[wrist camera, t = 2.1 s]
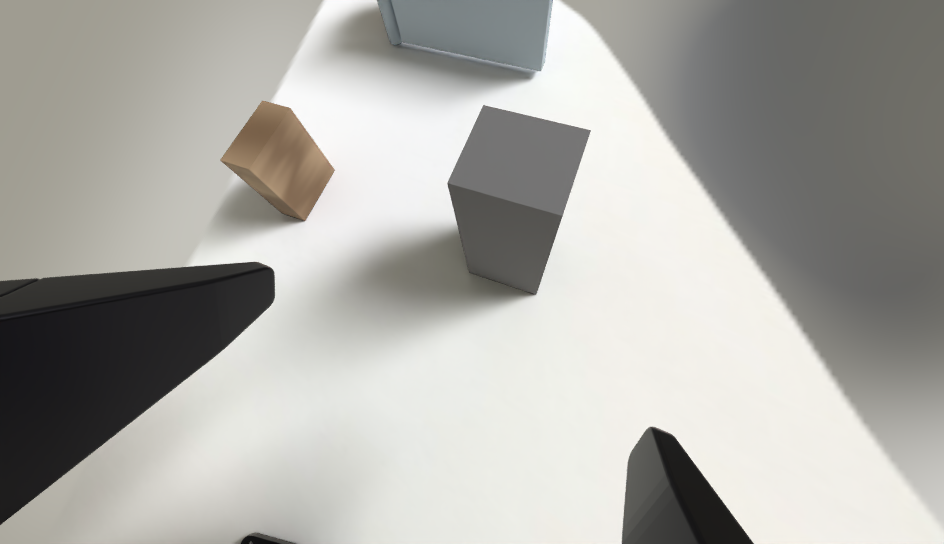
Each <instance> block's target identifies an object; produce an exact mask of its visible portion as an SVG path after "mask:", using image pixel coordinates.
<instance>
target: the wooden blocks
mask: <svg viewBox="0 0 944 544" xmlns="http://www.w3.org/2000/svg"><path fill="white" fill-rule="evenodd" d="M221 161H222V162H223V163H224V164H225V165H226V166H228V167H229V168H230V169H231V170H232V171H233V172H234V173H236V174H237V175H238V176H239V177H240V178H241V179H243V180H244V181H245V182H246V183H247V184H248V185H250V186H251V187H252V188H253V189H254V190H255V191H257V192H258V193H259V194H260V195H261V196H262V197H264V198H265V199H266V200H267V201H268V202H269V203H271V204H272V205H273V206H274V207H275V208H276V209H278V210H279V211H280V212H281V213H283V214H286V215H289V216H292V217H295V218H298V219H301V220H304V221H305V220H306V219H307V217H308V215H309V214H310V212H311V210H312V208H313V207H314V205H315V203H316V202H317V200H318V198H319V196H320V195H321V193H322V191H323V190H324V188H325V186H326V184H327V183H328V181H329V179H330V178H331V176H332V174H333V172H334V171H335V170H334V168H333V167H332V166H331V164H330V163H329V161H328V160H327V159H326V157H325V156H324V154H323V153H322V152H321V150H320V149H319V147H318V146H317V145H316V143H315V142H314V140H313V139H312V138H311V136H310V135H309V133H308V132H307V131H306V129H305V128H304V127H303V125H302V124H301V122H300V121H299V120H298V118H297V117H296V115H295V114H294V113H293V111H292V110H291V108H288V107H284V106H281V105H277V104H273V103H269V102H266V101H262V102H261V103H260V105H259V106H258V108H257V109H256V111H255V112H254V113H253V115H252V116H251V117H250V119H249V120H248V122H247V123H246V125H245V126H244V127H243V129H242V130H241V132H240V133H239V134H238V136H237V137H236V138H235V140H234V142H233V143H232V144H231V146H230V147H229V148H228V150H227V151H226V153H225V154H224V155H223V157H222V158H221Z"/></svg>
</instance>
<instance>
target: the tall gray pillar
mask: <svg viewBox="0 0 944 544" xmlns="http://www.w3.org/2000/svg"><path fill="white" fill-rule="evenodd" d="M590 131H591V130H587V129H582V128H578V127H574V126H570V125H565V124H561V123H557V122H553V121H548V120H544V119H540V118H536V117H531V116H527V115H523V114H519V113H514V112H510V111H506V110H502V109H498V108H493V107H489V106H485V105H483V107H482V109H481V111H480V114H479V116H478V118H477V120H476V122H475V124H474V127H473V129H472V131H471V133H470V135H469V137H468V140H467V142H466V144H465V146H464V148H463V150H462V153H461V155H460V157H459V159H458V161H457V163H456V166H455V168H454V170H453V172H452V174H451V176H450V179H449V181H448V188H449V192H450V196H451V200H452V204H453V208H454V212H455V216H456V221H457V225H458V229H459V233H460V237H461V241H462V245H463V249H464V254H465V258H466V262H467V266H468V270H469V272H470V273H473V274H476V275H479V276H482V277H485V278H488V279H491V280H494V281H497V282H500V283H503V284H506V285H509V286H512V287H515V288H518V289H521V290H524V291H527V292H530V293H533V294H537V291H538V288H539V285H540V282H541V279H542V276H543V273H544V270H545V267H546V264H547V261H548V258H549V255H550V252H551V249H552V246H553V243H554V240H555V237H556V234H557V231H558V228H559V225H560V222H561V219H562V216H563V213H564V210H565V207H566V204H567V201H568V198H569V195H570V192H571V189H572V186H573V182H574V179H575V176H576V173H577V170H578V167H579V164H580V161H581V158H582V155H583V152H584V149H585V146H586V143H587V140H588V137H589V134H590Z"/></svg>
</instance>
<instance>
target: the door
mask: <svg viewBox="0 0 944 544" xmlns="http://www.w3.org/2000/svg"><path fill="white" fill-rule="evenodd" d="M377 2H378V5H379V8H380V11H381V15H382V18H383V21H384V24H385V27H386V31H387V34H388V37H389V40H390V43H391V44H393V45H397V44H400V43H402V42H403V43H408V44H413V45H418V46H422V47H427V48H432V49H437V50H441V51H446V52H451V53H456V54H460V55H465V56H470V57H475V58H479V59H484V60H489V61H494V62H498V63H503V64H508V65H513V66H518V67H522V68H527V69H532V70H537V71H541V70H542V68H543V65H544V63H545V56H546V49H547V41H548V33H549V26H550V18H551V10H552V3H553V0H377Z"/></svg>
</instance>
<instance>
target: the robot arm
mask: <svg viewBox="0 0 944 544" xmlns="http://www.w3.org/2000/svg"><path fill="white" fill-rule="evenodd" d="M274 298H275V277H274V271H273V269H272V268H271V267H269V266H266V265H264V264H262V263H259V262H247V263H233V264H220V265H207V266H194V267H181V268H168V269H155V270H141V271H128V272H116V273H103V274H89V275H75V276H62V277H50V278H42V279H37V278H36V279H22V280H9V281H0V525H1V524H2V523H3V522H5V521H6V520H7V519H8V518H10V517H11V516H12V515H14V514H15V513H16V512H17V511H19V510H20V509H21V508H22V507H24V506H25V505H26V504H28V502H30V501H31V500H33V499H34V498H35V497H36V496H38V495H39V494H40V493H42V492H43V491H44V490H45V489H47V488H48V487H49V486H51V485H52V484H53V483H54V482H56V481H57V480H58V479H59V478H61V477H62V476H63V475H65V474H66V473H67V472H68V471H70V470H71V469H72V468H73V467H75V466H76V465H77V464H78V463H80V462H81V461H82V460H84V459H85V458H86V457H88V456H89V455H90V454H91V453H93V452H94V451H95V450H96V449H98V448H99V447H100V446H102V445H103V444H104V443H105V442H107V441H108V440H109V439H110V438H112V437H113V436H114V435H116V434H117V433H118V432H119V431H121V430H122V429H123V428H125V427H126V426H127V425H128V424H130V423H131V422H132V421H133V420H135V419H136V418H137V417H139V416H140V415H141V414H142V413H144V412H145V411H146V410H147V409H149V408H150V407H151V406H153V405H154V404H155V403H156V402H158V401H159V400H160V399H162V398H163V397H164V396H165V395H167V394H168V393H169V392H170V391H172V390H173V389H174V388H176V387H177V386H178V385H179V384H181V383H182V382H183V381H184V380H186V379H187V378H188V377H190V376H191V375H192V374H193V373H195V372H196V371H197V370H199V369H200V368H201V367H202V366H204V365H205V364H206V363H207V362H209V361H210V360H211V359H213V358H214V357H215V356H216V355H217V354H219V353H220V352H221V351H222V350H224V349H225V348H226V347H227V346H228V345H229V344H230V343H231V342H232V341H233V340H235V339H236V338H237V337H238V336H239V335H240V334H241V333H242V332H243V331H244V330H245V329H246V328H247V327H248V326H249V325H251V324H252V323H253V322H254V321H255V320H256V319H257V318H258V317H259V316H260V315H261V314H262V313H263V312H264V311H265V310H267V309H268V308H269V307H270V306H271V304H272V303H273V301H274ZM250 541H251V542H253V544H295V543H292V542H288V541H285V540H281V539H277V538H274V537H270V536H267V535H263V534H260V533H253V534H251V535H249V536H247V537H245V538H244V539H243V540H242V542H241V544H249V543H250ZM622 544H754V543H753V542H752V541H751V539H750V538H749V537H748V535H747V534H746V533H745V531H744V530H743V528H742V527H741V526H740V524H739V523H738V522H737V520H736V519H735V518H734V516H733V515H732V514H731V512H730V511H729V510H728V508H727V507H726V506H725V504H724V503H723V501H722V500H721V499H720V497H719V496H718V495H717V493H716V492H715V491H714V489H713V488H712V487H711V485H710V484H709V483H708V481H707V480H706V479H705V477H704V476H703V474H702V473H701V472H700V470H699V469H698V468H697V466H696V465H695V464H694V462H693V461H692V460H691V458H690V457H689V456H688V454H687V453H686V451H685V450H684V449H683V447H682V446H681V445H680V443H679V442H678V441H677V439H676V438H675V437H674V436H673V435H672V434H670V433H668V432H665V431H663V430H661V429H658V428H656V427H649V428H648V429H647V430H646V431H645V432H644V434H643V435H642V437H641V438H640V440H639V441H638V443H637V444H636V446H635V447H634V449H633V450H632V452H631V454H630V456H629V460H628V467H627V480H626V492H625V505H624V518H623V531H622Z"/></svg>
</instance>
